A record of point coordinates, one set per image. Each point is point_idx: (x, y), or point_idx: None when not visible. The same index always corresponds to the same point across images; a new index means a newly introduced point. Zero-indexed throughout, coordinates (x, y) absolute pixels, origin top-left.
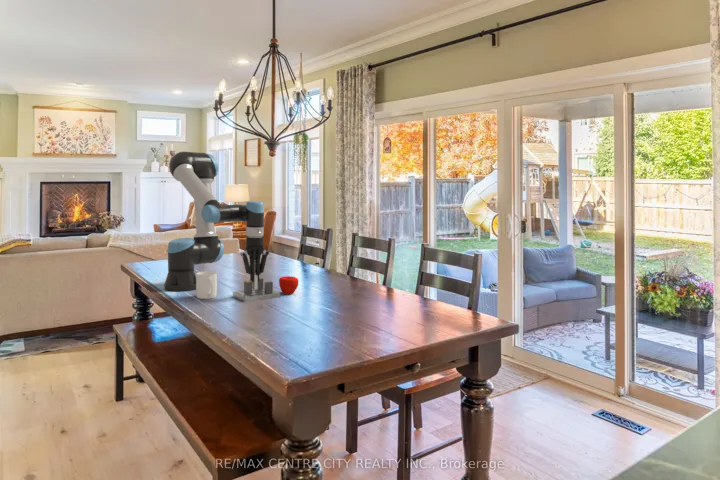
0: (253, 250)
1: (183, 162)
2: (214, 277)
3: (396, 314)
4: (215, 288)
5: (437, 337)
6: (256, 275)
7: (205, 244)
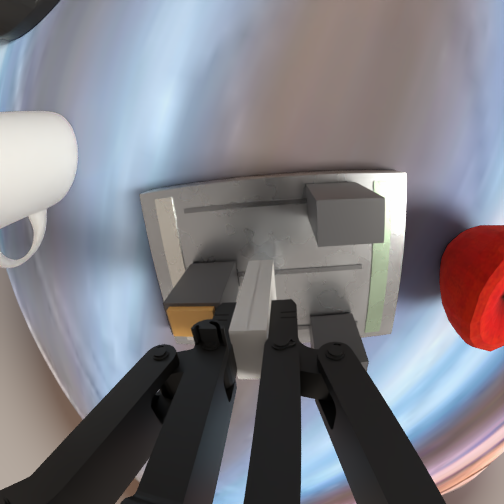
0: None
1: None
2: None
3: (433, 475)
4: (40, 199)
5: None
6: (258, 376)
7: None
